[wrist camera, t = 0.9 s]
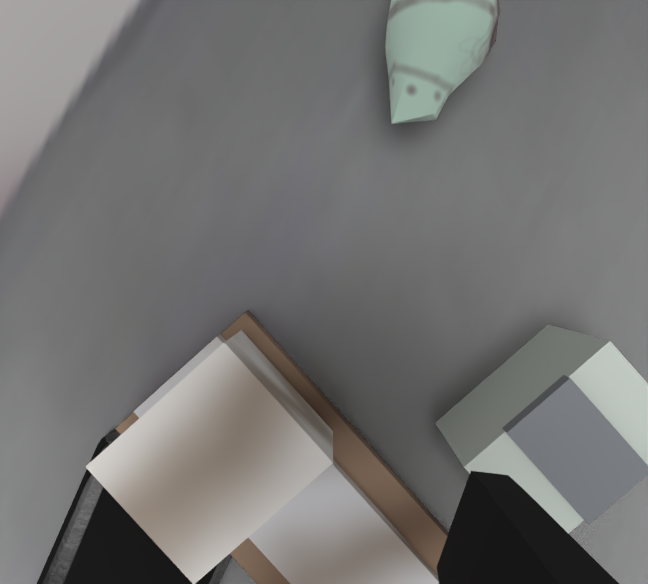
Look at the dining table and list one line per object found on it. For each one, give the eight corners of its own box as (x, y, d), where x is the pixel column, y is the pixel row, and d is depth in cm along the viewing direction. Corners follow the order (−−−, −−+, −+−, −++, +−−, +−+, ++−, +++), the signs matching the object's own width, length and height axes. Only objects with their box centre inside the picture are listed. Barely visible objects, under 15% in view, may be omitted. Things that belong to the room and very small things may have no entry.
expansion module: (610, 394, 27) (695, 434, 20) (496, 492, 27) (546, 560, 21) (546, 323, 27) (613, 341, 20) (434, 421, 27) (464, 468, 21)
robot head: (391, -30, 26) (411, -134, 19) (480, -18, 26) (532, -119, 19) (366, 147, 26) (377, 106, 19) (454, 158, 26) (496, 122, 19)
